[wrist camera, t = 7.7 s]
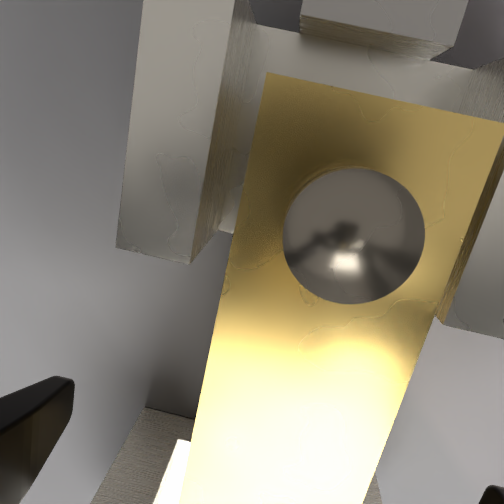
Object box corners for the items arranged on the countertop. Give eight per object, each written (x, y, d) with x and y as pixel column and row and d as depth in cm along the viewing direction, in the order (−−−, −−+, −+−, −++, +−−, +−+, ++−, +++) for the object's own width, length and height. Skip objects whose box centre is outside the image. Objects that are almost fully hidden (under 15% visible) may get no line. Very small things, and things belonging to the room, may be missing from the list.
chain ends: (569, -52, 9) (769, -189, 5) (313, 622, 16) (319, 778, 12) (225, -119, 9) (176, -295, 6) (118, 569, 16) (63, 705, 12)
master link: (422, 129, 9) (532, 122, 5) (285, 551, 14) (280, 749, 9) (278, 97, 10) (263, 64, 5) (185, 524, 14) (133, 707, 9)
